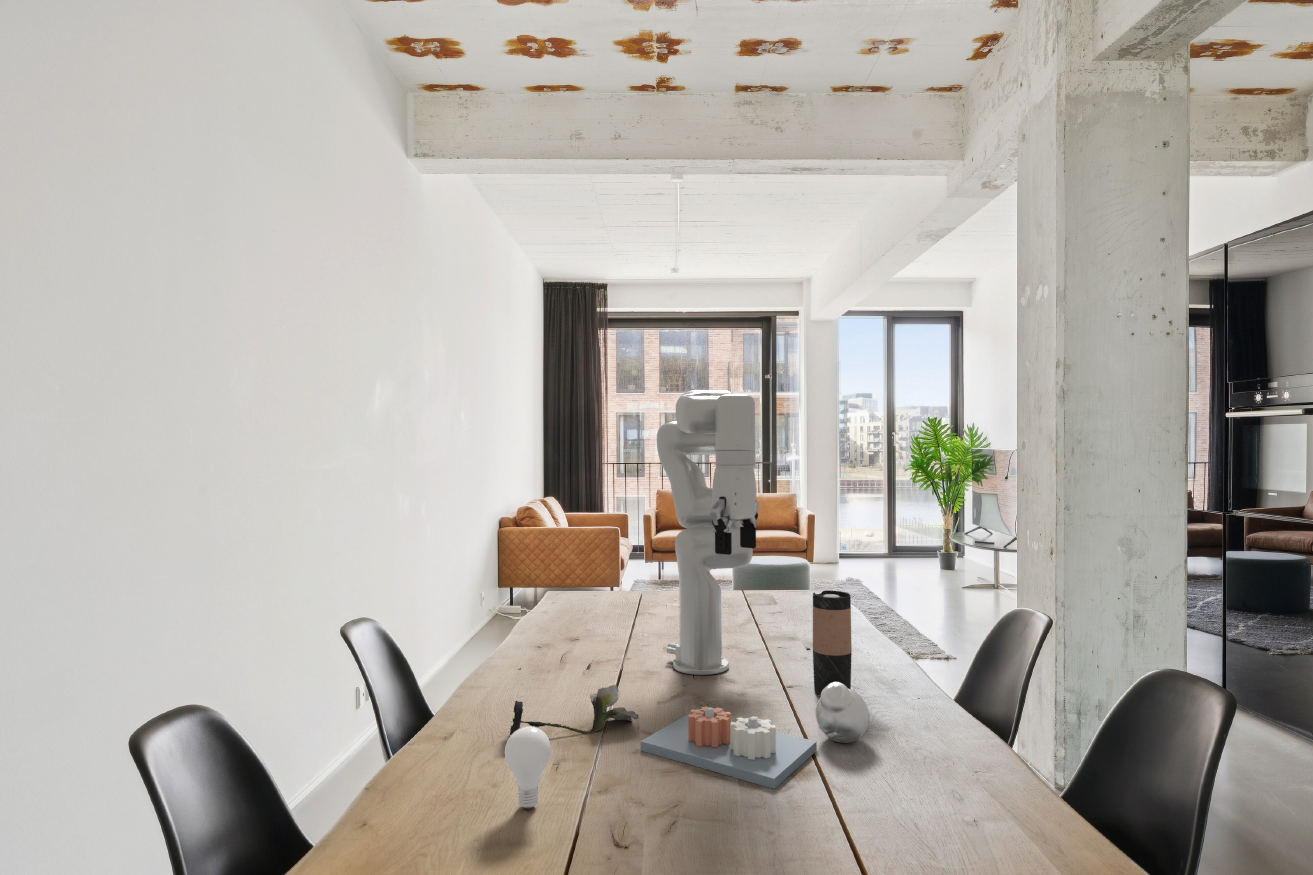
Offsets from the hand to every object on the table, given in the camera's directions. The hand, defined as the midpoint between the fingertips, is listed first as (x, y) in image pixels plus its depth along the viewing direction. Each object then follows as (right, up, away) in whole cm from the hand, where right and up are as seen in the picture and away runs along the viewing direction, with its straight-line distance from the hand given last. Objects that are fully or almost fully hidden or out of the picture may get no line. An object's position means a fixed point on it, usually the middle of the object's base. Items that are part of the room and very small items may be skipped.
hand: (736, 550), depth 137 cm
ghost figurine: (+16, -30, -14) cm, 37 cm away
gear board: (-3, -30, -17) cm, 35 cm away
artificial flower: (-30, -31, -8) cm, 44 cm away
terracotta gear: (-6, -29, -17) cm, 34 cm away
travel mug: (+21, -31, +10) cm, 38 cm away
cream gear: (0, -29, -21) cm, 35 cm away
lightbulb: (-33, -30, -36) cm, 57 cm away
